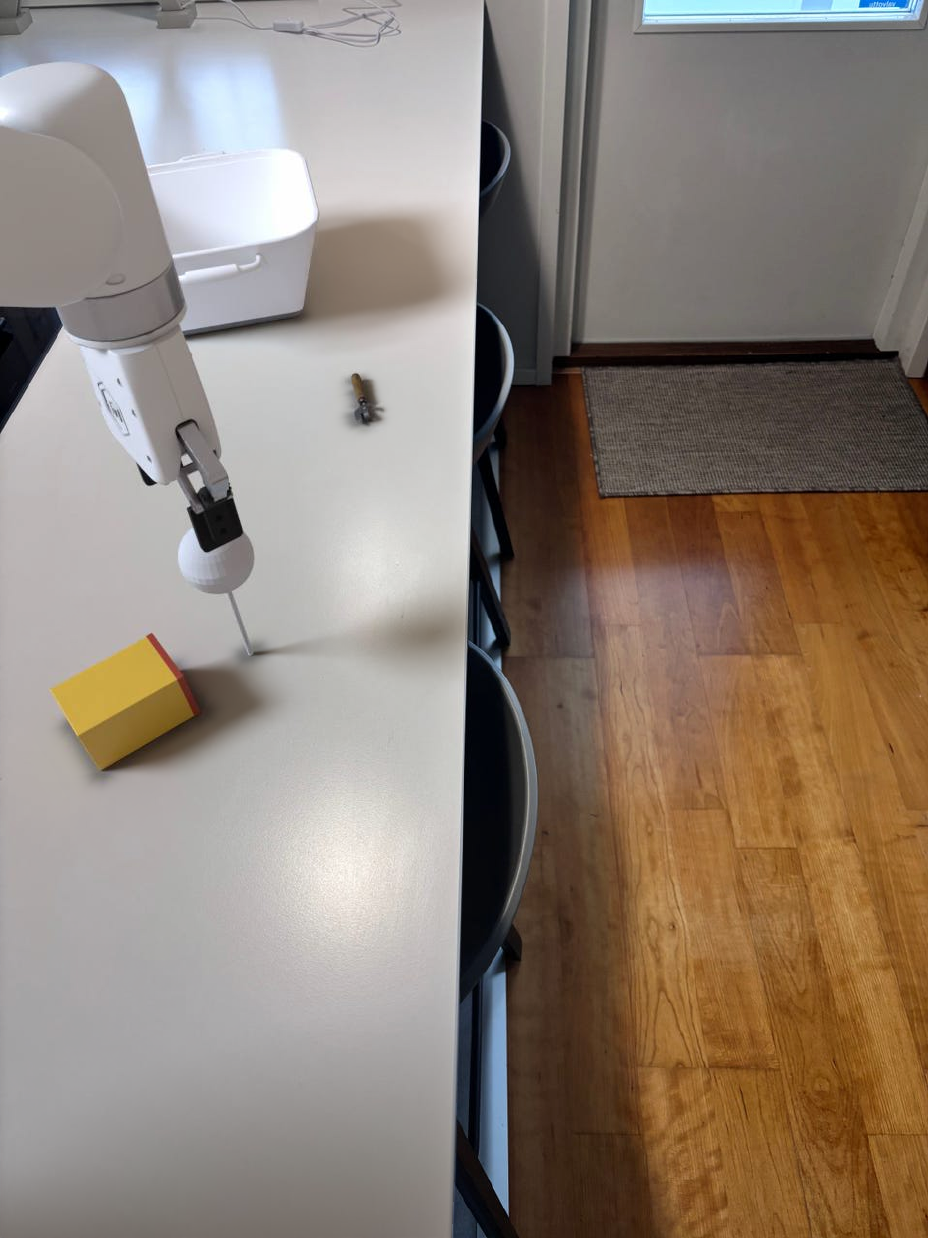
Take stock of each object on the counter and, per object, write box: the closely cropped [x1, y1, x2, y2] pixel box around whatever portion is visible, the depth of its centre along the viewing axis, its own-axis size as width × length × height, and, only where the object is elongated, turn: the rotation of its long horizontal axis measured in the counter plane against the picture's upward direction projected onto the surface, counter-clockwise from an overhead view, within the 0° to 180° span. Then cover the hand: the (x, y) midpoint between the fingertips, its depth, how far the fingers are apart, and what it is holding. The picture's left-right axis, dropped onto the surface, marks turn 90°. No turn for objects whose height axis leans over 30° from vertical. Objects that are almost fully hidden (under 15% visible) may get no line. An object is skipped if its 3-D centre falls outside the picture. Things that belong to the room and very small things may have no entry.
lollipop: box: [177, 526, 256, 657], centre depth 79 cm, size 6×6×15 cm
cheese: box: [49, 632, 201, 771], centre depth 78 cm, size 9×6×5 cm
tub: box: [146, 147, 320, 337], centre depth 121 cm, size 34×27×13 cm
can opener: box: [350, 372, 375, 425], centre depth 108 cm, size 9×2×1 cm, turn 7°
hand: (192, 508), depth 71 cm, fingers open, 9 cm apart
